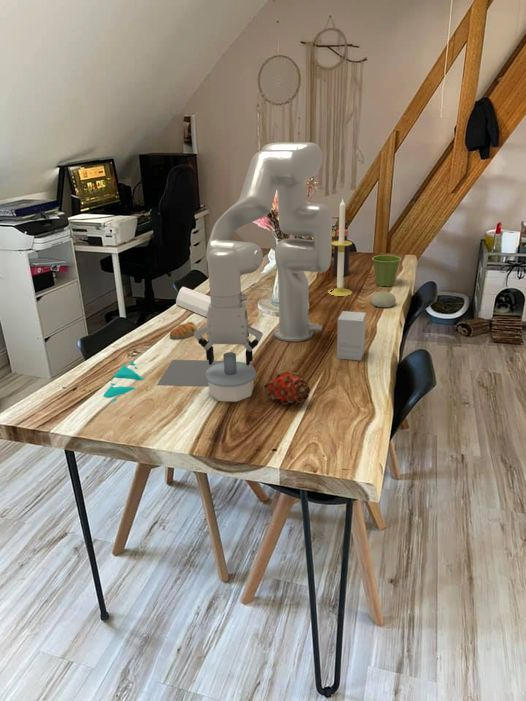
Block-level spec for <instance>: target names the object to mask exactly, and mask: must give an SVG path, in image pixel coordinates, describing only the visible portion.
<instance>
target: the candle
mask: <svg viewBox="0 0 526 701" xmlns="http://www.w3.org/2000/svg"><path fill="white" fill-rule="evenodd" d="M338 215H339V219H338V230H339V241H335V240H332V247H334V246H338V266H337V276H336V288H331V289H328V290H327V292H328V293H329V294H331V295H334V296H333V297H337V296H344V297H349V296H351V295H353V291H352V290H350V289H348V288H344V277H343V276H344V247H345V246H349V245H350V246H352V245H353V242H352V241H350V240H349V241H344V232H345V228H346V225H345V224H346V203H345V201H344V198H342V199H341V202H340V203H339V214H338ZM333 289H334V290H333ZM331 290H333V291H332V292H330V291H331ZM328 293H327V294H328ZM329 294H328V295H329ZM331 295H330V296H331ZM348 295H349V296H348Z"/></svg>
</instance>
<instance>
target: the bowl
mask: <svg viewBox="0 0 526 701" xmlns="http://www.w3.org/2000/svg"><path fill="white" fill-rule="evenodd" d="M208 384H209V387H208V394H209V396H211V397H212V398H214V399H215V400H217V401H219V402H239V401H242V400H245V399H247V398H249V397H251V396H252V394H253V390H254V379H253V380H252V381H250V382H249V383H246V384H244V385H240V386H234V387H222V386H216V385H213V384H211V383H209V382H208Z"/></svg>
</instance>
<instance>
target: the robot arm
mask: <svg viewBox="0 0 526 701" xmlns="http://www.w3.org/2000/svg"><path fill="white" fill-rule="evenodd" d="M322 164H323V152H322V149H321V147H320V146H319V145H318V144H317V143H315V142H304V141H303V142H291V141H290V142H287V141H286V142H284V141H282V142H271V143H268V144H265V145H264V146H263V147H262V148H261V150H260V151H258V152H256V153H255V154H253V156H252V158H251V161H250V164H249V167H248V170H247V173H246V176H245V179H244V183H243V186H242V189H241V193H240V196H239V198H238V200H237V202H235V203H234V204H233V205H231V206H230V207H229V208H228V209H227V210H226V211H224V213H223V214H222V215H221V216H220V217H218V219H217V220H216V222H215V223H214V225H213V226H212V230H211V232H210V236H209V238H208V242H207V246H206V251H205V257H206V262H207V271H208V283H209V296H210V299H211V303H210V304H209V306H208V315H207V317H206V320H207V322H206V325H205V326H203V327H201V328H199V329H198V330H197V331H196V332H195V333H194V335H193V336H194V337H195V339H196V341H197V343H198V344H199V345H200V346H201V347H203V349H204V351H205V355H206V360H207V361H209V365H211V364H212V363H213V361H215V355H214V353H215V352H214V346H213V345H242V346H243V347H244V348H245V363H246V365H247V366H249V364H250V365H251V362H253V359H254V358H253V356H254V355H253V350H254V348H256V347H257V346H258V345H259V343H260V341H261V339H262V337H263V335H264V334H263V332H262V331H260V330H258V329H256V328H253V327H252V326H250V324H249V318H248V311H247V307H246V306H247V305H246V304H245V301H248V295H246V294H243V293H242V292H243V291H242V286H241V282H242V281H241V276H243V275H246V274H252V273H254V272H256V271H257V270H258V269H259V268H260V267H261V266H262V264H263V260H264V251H263V249H262V247H260V245H258V244H256V243H254V242H250V241H240V240H230V238H231V236H232V235H233V234H234V233H235V232H236V231H237V230H239V229H240V228H242V227H244V226H246V225H249V224H252V223H254V222H256V221H258V220H260V219H262V218H265V217H267V216H268V215H269V214H270V213H271V210H272V207H273V204H274V200H275V197H276V195H277V212H278V213H277V215H278V226H279V230H280V231H281V232H282V234H285V235H290V236H299V237H300V236H302V237H311V238H312V239H305V238H293V237H292V238H284V239H282V240H280V241H278V242H277V244H276V245H275V248H274V259H275V263H276V264H275V265H276V270H277V280H278V283H277V284H278V325H279V326H278V328H276V329H275V330H274V337H276V338H277V339H278V340H281V341H284V342H291V343H293V342H302V341H303V342H304V341H306V340H309V339H311V338H312V337H313V335H314V332H322V331H323V325H319V323H312V322H310V320H311V319H310V318H309V281H308V278H307V275H306V274H305V272H311V273H324V272H327V271H328V270H329V268H330V266H331V262H332V252H333V251H332V250H333V245H332V241H333V219H332V213H331V210H330V208H329V207H328V206H327V205H326V204H323V203H319V202H318V203H315V202H314V203H312V202H308V200H307V198H308V197H307V184H306V182H307V181H308V180H309V179H311V178H313V177H314V176H316V175H317V174H318V173H319V171H320V169H321V167H322ZM276 193H277V194H276ZM204 334H206V336H207V337H206V338H207V339H205V337H203V335H204ZM250 335H252V336H254V337H255V338H254V339H253V340H250V339H249V337H250Z"/></svg>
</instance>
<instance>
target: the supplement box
mask: <svg viewBox="0 0 526 701" xmlns="http://www.w3.org/2000/svg"><path fill="white" fill-rule="evenodd" d="M366 319H367V312H361V311H360V312H359V311H358V312H357V311H346V310H343V311H341V313H340V314H339V316H338V318H337V336H336V338H337V340H336V341H337V342H336V359H341V360H349V361H352V360H353V361H362V359H363V356H364V354H365V344H366V343H365V342H366V321H367V320H366Z"/></svg>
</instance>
